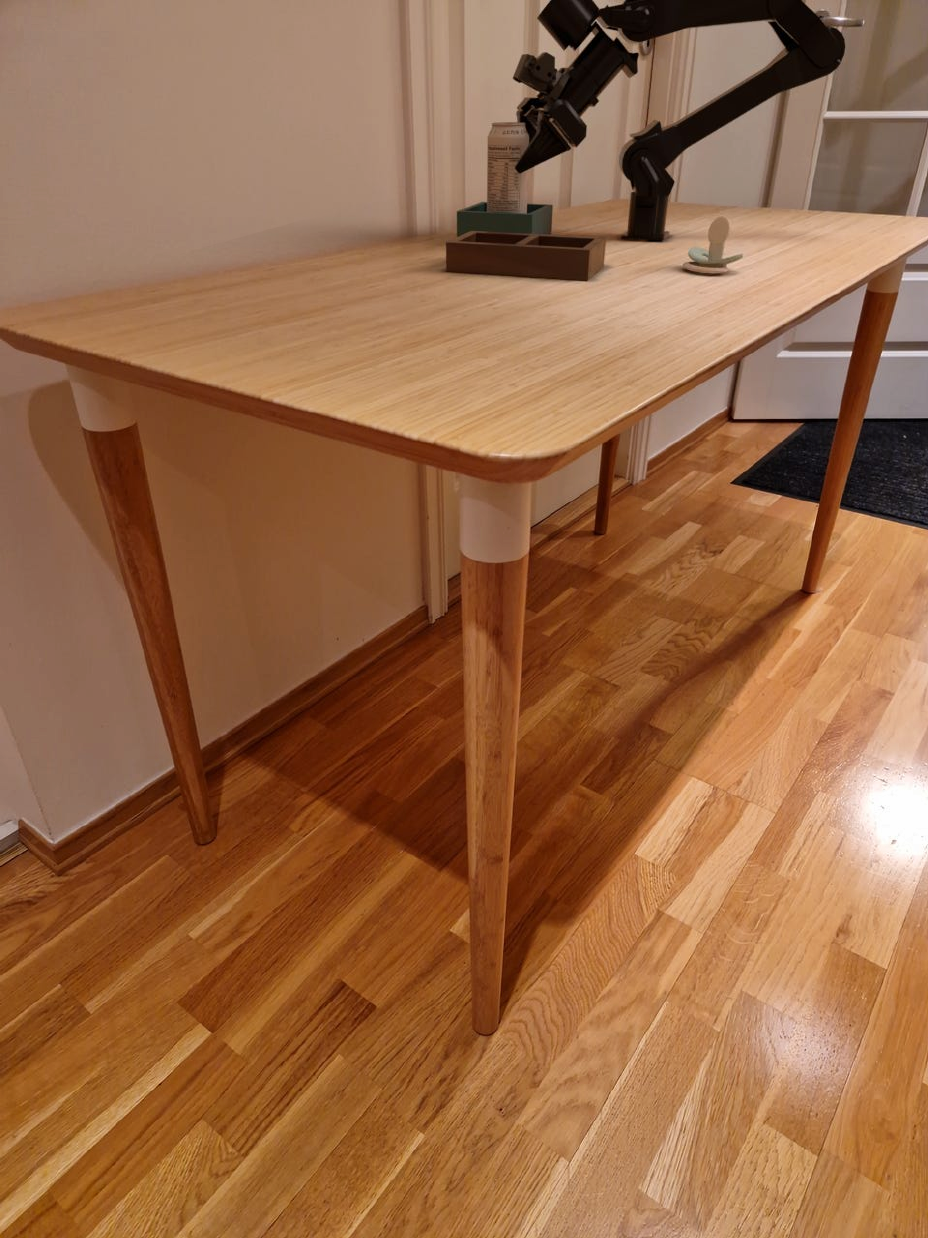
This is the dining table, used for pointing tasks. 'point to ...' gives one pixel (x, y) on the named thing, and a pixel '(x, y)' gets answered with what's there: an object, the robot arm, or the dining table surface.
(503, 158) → the energy drink can
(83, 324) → the dining table surface
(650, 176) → the robot arm
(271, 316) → the dining table surface
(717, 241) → the pacifier
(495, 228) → the green square tray
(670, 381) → the dining table surface
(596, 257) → the brown divided tray
